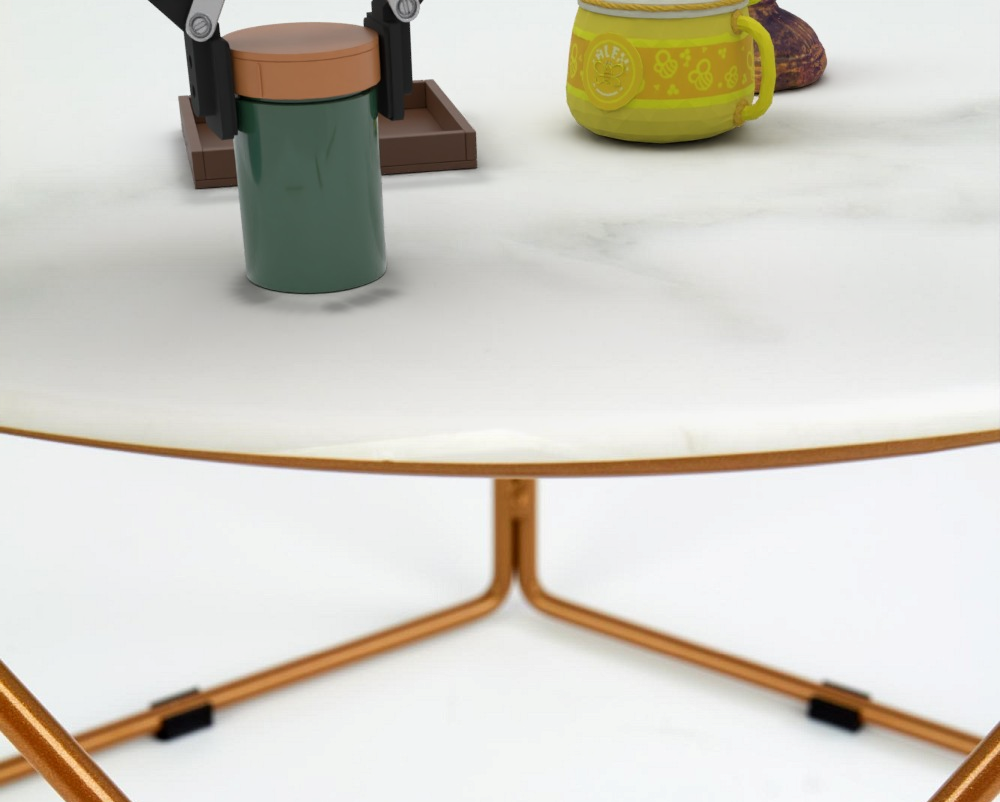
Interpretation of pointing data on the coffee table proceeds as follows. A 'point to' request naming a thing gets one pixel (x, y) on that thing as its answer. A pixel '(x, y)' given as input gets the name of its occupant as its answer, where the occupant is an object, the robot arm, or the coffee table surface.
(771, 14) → the dark brown rounded piece
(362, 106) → the jar
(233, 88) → the robot arm
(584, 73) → the mug
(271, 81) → the lid
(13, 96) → the coffee table surface
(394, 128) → the tray
